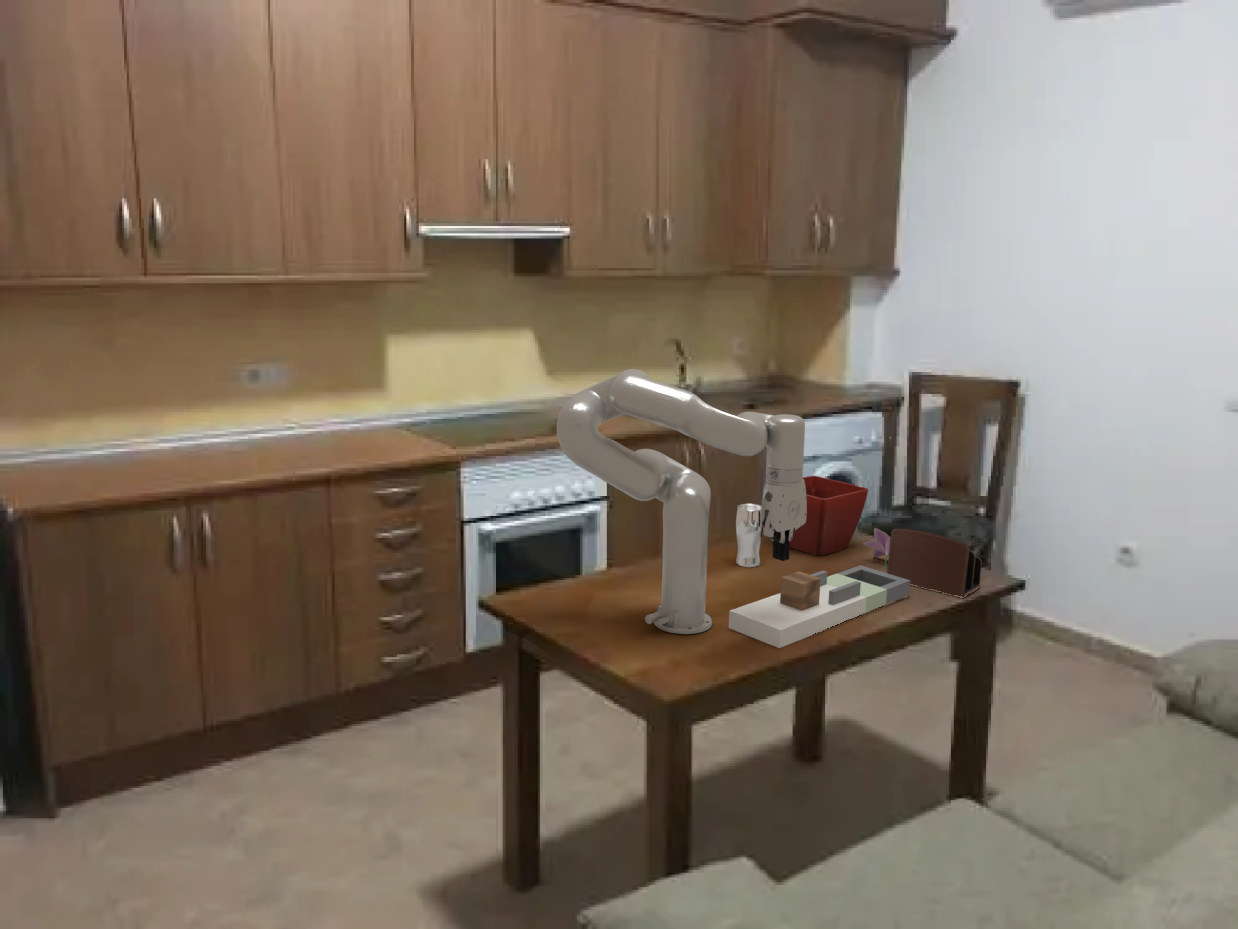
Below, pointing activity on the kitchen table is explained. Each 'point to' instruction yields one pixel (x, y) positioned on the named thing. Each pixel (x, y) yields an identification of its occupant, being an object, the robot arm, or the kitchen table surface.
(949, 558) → the letter holder
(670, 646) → the kitchen table surface
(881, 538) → the lily
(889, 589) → the channel deck
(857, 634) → the kitchen table surface
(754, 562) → the beer glass
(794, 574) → the walnut block
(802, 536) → the plant pot
